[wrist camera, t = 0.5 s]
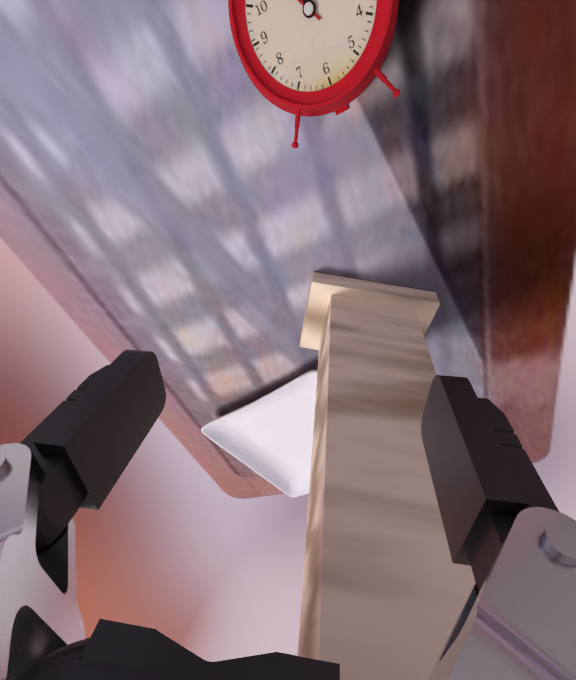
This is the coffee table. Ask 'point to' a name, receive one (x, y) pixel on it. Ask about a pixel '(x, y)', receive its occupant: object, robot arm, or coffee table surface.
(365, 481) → the stand
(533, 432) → the coffee table surface
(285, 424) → the salad plate
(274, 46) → the alarm clock
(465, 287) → the coffee table surface
